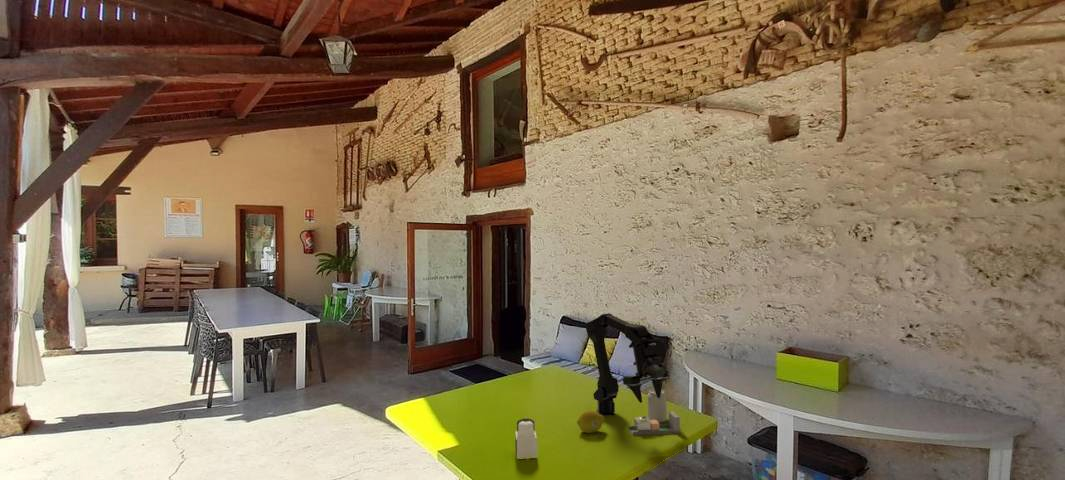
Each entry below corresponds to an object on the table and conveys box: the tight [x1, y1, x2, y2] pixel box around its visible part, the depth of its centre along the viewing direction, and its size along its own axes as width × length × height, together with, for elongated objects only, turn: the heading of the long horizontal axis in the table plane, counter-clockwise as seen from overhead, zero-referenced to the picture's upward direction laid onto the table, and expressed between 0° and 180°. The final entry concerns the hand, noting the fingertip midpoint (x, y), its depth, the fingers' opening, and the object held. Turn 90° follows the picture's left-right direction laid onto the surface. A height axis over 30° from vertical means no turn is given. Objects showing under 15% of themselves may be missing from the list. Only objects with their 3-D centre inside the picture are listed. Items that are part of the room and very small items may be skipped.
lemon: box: [576, 410, 605, 434], centre depth 183 cm, size 11×8×8 cm
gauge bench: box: [628, 410, 681, 436], centre depth 183 cm, size 18×6×6 cm, turn 94°
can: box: [647, 388, 668, 424], centre depth 194 cm, size 8×8×12 cm
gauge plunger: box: [633, 415, 651, 431], centre depth 182 cm, size 5×4×5 cm
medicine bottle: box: [514, 418, 538, 459], centre depth 164 cm, size 7×7×12 cm
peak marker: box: [650, 420, 660, 430], centre depth 183 cm, size 3×4×4 cm
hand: (650, 400), depth 181 cm, fingers open, 9 cm apart
